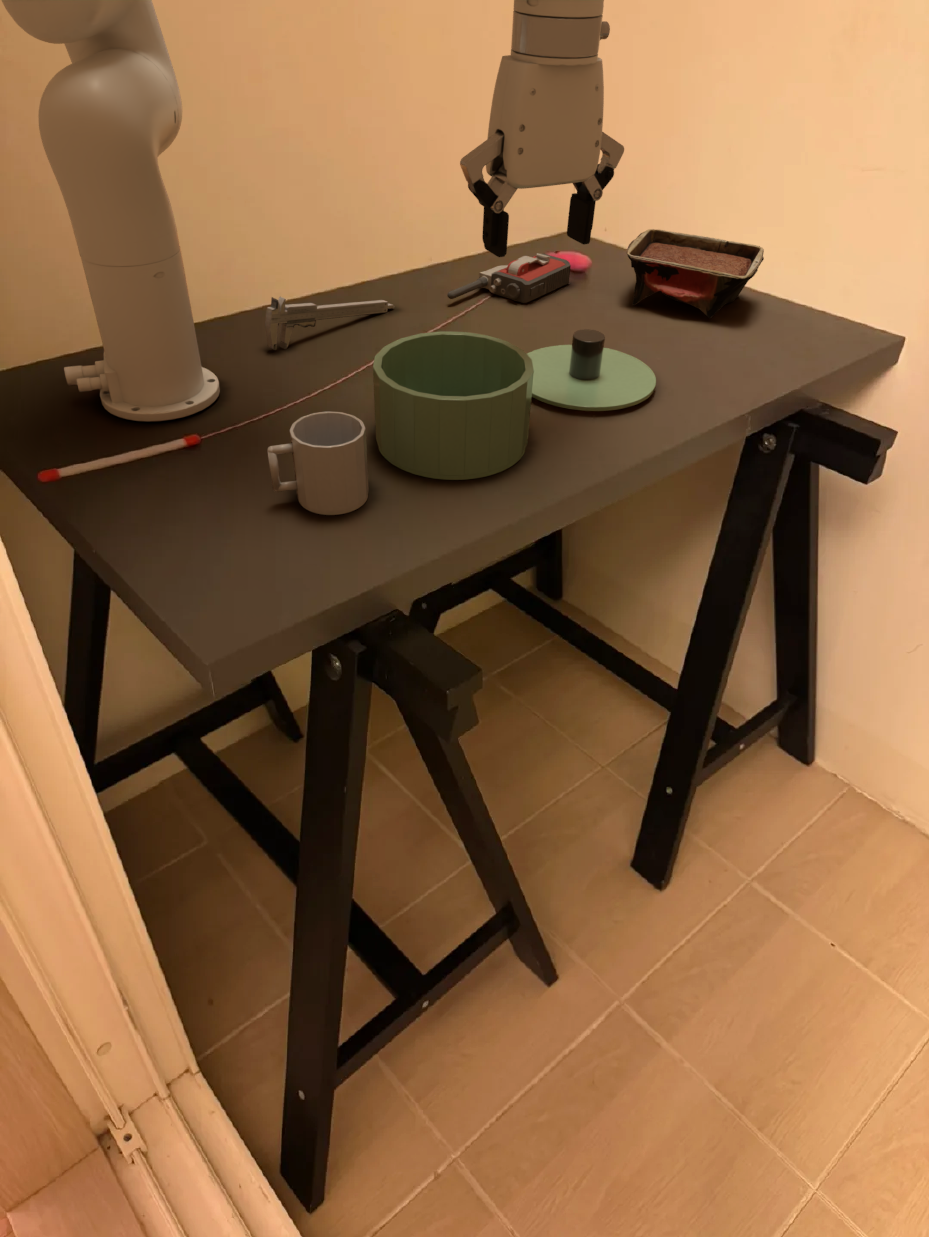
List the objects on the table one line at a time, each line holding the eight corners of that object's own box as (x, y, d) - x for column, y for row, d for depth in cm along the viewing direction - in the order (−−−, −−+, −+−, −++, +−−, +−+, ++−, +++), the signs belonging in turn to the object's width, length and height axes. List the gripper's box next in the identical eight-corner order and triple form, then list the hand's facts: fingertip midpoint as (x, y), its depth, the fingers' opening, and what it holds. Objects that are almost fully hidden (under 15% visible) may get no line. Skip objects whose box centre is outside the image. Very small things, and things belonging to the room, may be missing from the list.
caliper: (273, 353, 106) (267, 302, 102) (268, 351, 107) (261, 300, 102) (394, 309, 118) (393, 262, 114) (389, 307, 118) (388, 260, 114)
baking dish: (720, 345, 116) (751, 271, 110) (601, 297, 121) (624, 223, 114) (747, 318, 127) (777, 249, 120) (637, 274, 131) (659, 205, 125)
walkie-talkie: (528, 267, 132) (442, 304, 119) (530, 237, 129) (442, 271, 117) (576, 282, 127) (493, 321, 115) (580, 250, 125) (494, 287, 113)
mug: (359, 473, 86) (355, 407, 81) (375, 508, 81) (372, 441, 76) (269, 486, 83) (260, 419, 79) (280, 523, 79) (271, 455, 74)
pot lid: (544, 424, 94) (549, 374, 90) (492, 361, 106) (495, 315, 102) (680, 405, 98) (690, 357, 95) (616, 346, 110) (622, 302, 106)
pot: (399, 490, 83) (396, 409, 78) (361, 415, 94) (357, 340, 89) (549, 467, 87) (557, 388, 82) (496, 398, 98) (500, 324, 93)
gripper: (611, 30, 80) (587, 225, 91) (445, 35, 74) (441, 246, 85) (662, 42, 75) (630, 247, 87) (490, 49, 69) (479, 271, 80)
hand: (537, 246), depth 86 cm, fingers open, 9 cm apart
